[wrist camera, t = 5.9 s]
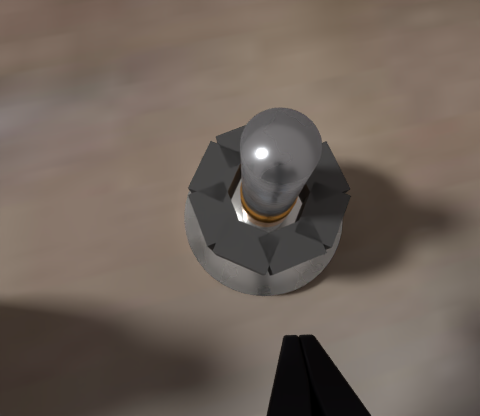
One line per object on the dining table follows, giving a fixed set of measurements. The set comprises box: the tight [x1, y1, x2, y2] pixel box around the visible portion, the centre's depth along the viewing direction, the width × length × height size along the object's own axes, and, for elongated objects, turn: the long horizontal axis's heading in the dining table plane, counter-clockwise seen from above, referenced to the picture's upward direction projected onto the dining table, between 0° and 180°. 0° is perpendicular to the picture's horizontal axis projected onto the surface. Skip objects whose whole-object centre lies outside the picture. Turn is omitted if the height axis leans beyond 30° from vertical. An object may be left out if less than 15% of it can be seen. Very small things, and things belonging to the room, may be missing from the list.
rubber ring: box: [188, 125, 351, 276], centre depth 18 cm, size 8×8×2 cm
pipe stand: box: [185, 108, 342, 296], centre depth 17 cm, size 11×11×12 cm
